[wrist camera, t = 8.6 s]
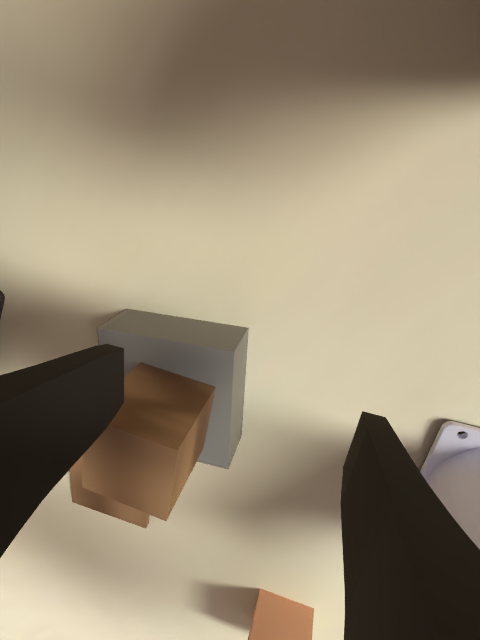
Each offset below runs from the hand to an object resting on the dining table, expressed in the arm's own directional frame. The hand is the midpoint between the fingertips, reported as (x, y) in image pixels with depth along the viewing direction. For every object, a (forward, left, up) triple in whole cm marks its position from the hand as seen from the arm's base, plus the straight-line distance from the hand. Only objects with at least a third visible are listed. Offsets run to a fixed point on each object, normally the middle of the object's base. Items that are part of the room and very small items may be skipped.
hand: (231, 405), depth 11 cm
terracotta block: (-5, +28, -10) cm, 30 cm away
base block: (+5, +7, -11) cm, 14 cm away
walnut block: (+5, +7, -7) cm, 11 cm away
